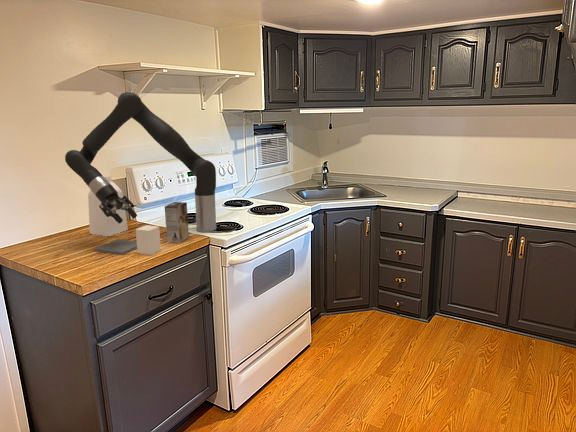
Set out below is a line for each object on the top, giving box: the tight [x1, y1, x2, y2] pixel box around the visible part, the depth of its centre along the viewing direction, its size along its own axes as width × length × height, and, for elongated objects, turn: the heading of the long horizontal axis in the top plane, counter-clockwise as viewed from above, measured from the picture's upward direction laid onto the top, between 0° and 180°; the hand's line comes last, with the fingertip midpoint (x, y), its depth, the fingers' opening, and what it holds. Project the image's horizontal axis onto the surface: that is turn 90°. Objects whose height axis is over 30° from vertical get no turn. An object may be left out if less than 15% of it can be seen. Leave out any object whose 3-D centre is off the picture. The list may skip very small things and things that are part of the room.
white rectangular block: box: [135, 224, 162, 256], centre depth 177 cm, size 6×6×10 cm
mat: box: [94, 238, 137, 256], centre depth 183 cm, size 14×14×1 cm
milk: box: [87, 175, 129, 237], centre depth 203 cm, size 12×12×26 cm
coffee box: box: [164, 201, 190, 244], centre depth 193 cm, size 9×6×16 cm
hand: (128, 219), depth 178 cm, fingers open, 8 cm apart
